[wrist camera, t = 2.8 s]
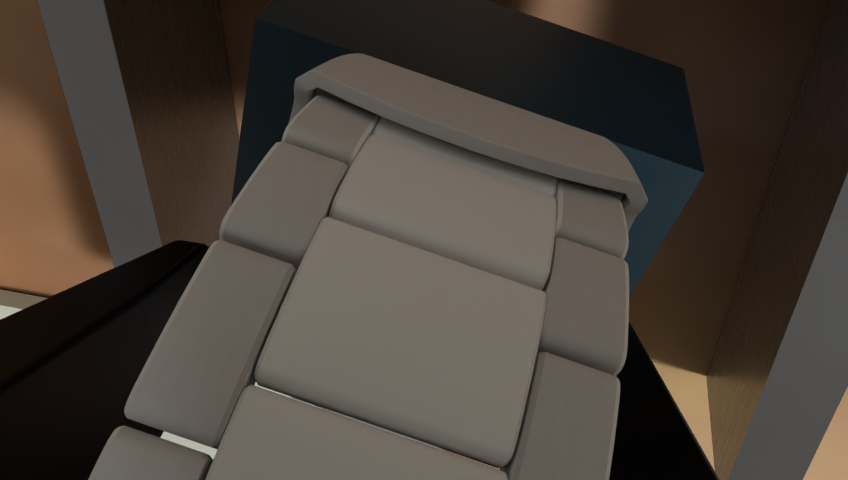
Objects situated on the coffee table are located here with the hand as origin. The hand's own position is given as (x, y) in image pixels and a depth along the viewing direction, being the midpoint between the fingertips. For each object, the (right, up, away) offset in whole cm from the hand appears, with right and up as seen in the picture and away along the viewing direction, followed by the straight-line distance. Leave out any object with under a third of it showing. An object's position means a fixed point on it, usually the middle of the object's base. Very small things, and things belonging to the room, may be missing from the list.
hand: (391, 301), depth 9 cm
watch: (+1, +3, +4) cm, 5 cm away
